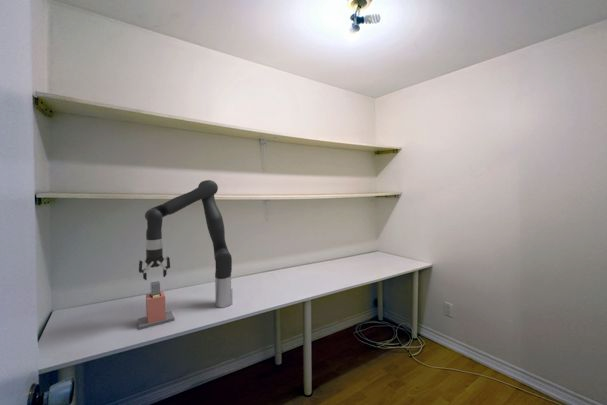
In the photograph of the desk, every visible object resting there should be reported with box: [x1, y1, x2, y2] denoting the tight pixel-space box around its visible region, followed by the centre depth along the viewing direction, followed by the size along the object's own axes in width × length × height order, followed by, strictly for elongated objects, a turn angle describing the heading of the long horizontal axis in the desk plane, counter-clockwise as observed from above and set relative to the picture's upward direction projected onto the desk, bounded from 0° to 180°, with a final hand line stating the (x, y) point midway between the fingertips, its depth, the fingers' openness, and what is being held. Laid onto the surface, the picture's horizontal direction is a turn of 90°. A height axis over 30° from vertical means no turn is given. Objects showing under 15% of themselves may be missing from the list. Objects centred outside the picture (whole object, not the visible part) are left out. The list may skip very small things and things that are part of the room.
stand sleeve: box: [137, 290, 175, 331], centre depth 143 cm, size 16×10×15 cm, turn 125°
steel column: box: [149, 280, 161, 298], centre depth 143 cm, size 4×4×18 cm
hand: (155, 278), depth 142 cm, fingers open, 8 cm apart
